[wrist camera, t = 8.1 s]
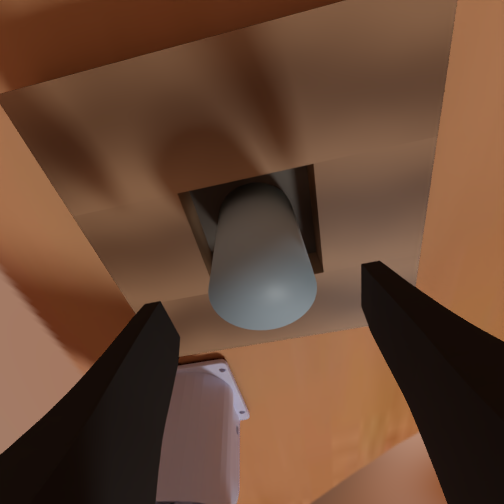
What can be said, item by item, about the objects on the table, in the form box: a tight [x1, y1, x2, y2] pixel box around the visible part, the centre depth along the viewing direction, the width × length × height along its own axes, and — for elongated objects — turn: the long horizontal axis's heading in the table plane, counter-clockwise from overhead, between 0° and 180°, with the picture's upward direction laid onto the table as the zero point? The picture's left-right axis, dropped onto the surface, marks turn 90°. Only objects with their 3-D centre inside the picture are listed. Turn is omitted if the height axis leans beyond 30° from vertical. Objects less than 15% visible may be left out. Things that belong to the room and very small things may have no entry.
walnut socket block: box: [0, 0, 457, 357], centre depth 15 cm, size 16×16×2 cm
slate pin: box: [208, 182, 317, 330], centre depth 13 cm, size 4×4×6 cm
